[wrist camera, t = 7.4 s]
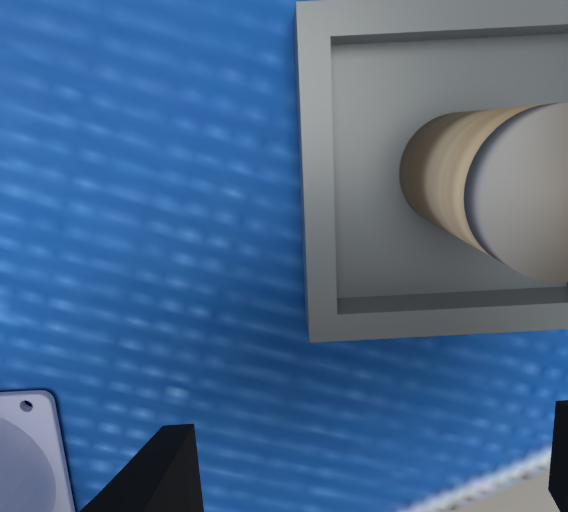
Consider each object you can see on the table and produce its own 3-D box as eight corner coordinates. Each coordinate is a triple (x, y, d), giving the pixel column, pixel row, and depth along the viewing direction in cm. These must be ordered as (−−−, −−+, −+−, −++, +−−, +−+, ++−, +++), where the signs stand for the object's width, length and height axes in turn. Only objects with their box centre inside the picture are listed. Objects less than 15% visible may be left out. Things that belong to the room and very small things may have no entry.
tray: (305, 316, 20) (309, 342, 17) (293, 20, 17) (296, 1, 15) (578, 302, 20) (620, 326, 17) (608, 3, 17) (663, -17, 15)
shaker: (401, 229, 18) (479, 290, 11) (397, 117, 17) (482, 109, 10) (508, 219, 18) (652, 274, 11) (511, 107, 17) (671, 92, 10)
